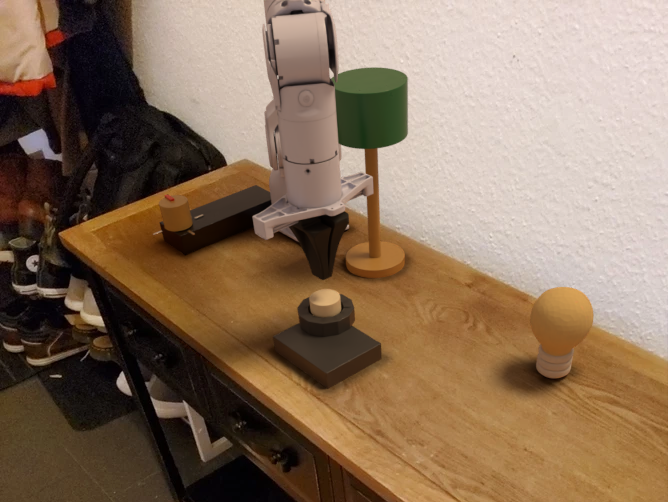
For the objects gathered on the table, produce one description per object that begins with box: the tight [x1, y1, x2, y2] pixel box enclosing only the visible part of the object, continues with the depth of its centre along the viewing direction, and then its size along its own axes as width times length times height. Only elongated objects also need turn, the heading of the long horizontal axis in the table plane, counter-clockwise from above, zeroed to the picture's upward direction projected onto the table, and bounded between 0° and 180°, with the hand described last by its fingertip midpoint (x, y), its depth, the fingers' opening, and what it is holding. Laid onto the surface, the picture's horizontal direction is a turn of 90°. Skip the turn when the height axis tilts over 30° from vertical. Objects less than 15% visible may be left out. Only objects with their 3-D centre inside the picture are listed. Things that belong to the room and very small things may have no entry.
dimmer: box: [152, 184, 272, 257], centre depth 109 cm, size 20×8×3 cm, turn 131°
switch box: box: [272, 293, 383, 390], centre depth 86 cm, size 11×10×4 cm
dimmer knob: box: [158, 194, 193, 231], centre depth 104 cm, size 4×4×4 cm
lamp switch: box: [308, 288, 341, 318], centre depth 86 cm, size 4×4×2 cm
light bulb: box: [529, 286, 594, 379], centre depth 79 cm, size 6×6×10 cm
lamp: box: [330, 66, 409, 279], centre depth 93 cm, size 9×9×23 cm
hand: (322, 275), depth 83 cm, fingers closed
